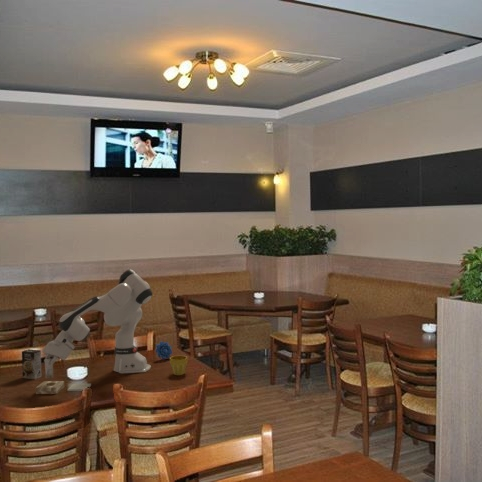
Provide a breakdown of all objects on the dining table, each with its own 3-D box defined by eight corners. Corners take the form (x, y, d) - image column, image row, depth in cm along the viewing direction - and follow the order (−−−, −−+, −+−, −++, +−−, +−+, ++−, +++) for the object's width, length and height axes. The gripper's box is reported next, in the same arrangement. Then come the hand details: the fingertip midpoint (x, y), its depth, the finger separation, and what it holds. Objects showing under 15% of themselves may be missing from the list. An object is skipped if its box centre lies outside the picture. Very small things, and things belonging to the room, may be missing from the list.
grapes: (158, 362, 374) (157, 343, 373) (154, 359, 380) (153, 341, 379) (174, 359, 380) (174, 341, 379) (170, 357, 385) (170, 339, 385)
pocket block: (64, 387, 326) (64, 381, 325) (56, 393, 314) (56, 387, 314) (44, 387, 326) (44, 381, 326) (36, 393, 315) (35, 387, 315)
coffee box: (22, 378, 345) (21, 351, 344) (29, 375, 351) (28, 348, 350) (34, 379, 342) (33, 352, 341) (42, 376, 348) (41, 349, 347)
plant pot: (187, 375, 342) (187, 359, 341) (169, 376, 341) (169, 360, 341) (187, 370, 352) (187, 354, 352) (170, 371, 352) (170, 355, 351)
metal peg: (54, 375, 322) (53, 358, 321) (51, 378, 318) (50, 360, 317) (47, 375, 322) (46, 358, 322) (44, 378, 318) (43, 360, 318)
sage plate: (91, 385, 328) (91, 383, 328) (85, 391, 318) (85, 389, 318) (73, 385, 329) (73, 383, 328) (67, 391, 319) (67, 389, 318)
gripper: (49, 336, 331) (33, 356, 324) (69, 341, 317) (54, 363, 311) (56, 342, 334) (41, 363, 328) (76, 347, 321) (61, 369, 314)
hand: (47, 363), depth 319 cm, fingers closed on metal peg, 4 cm apart
